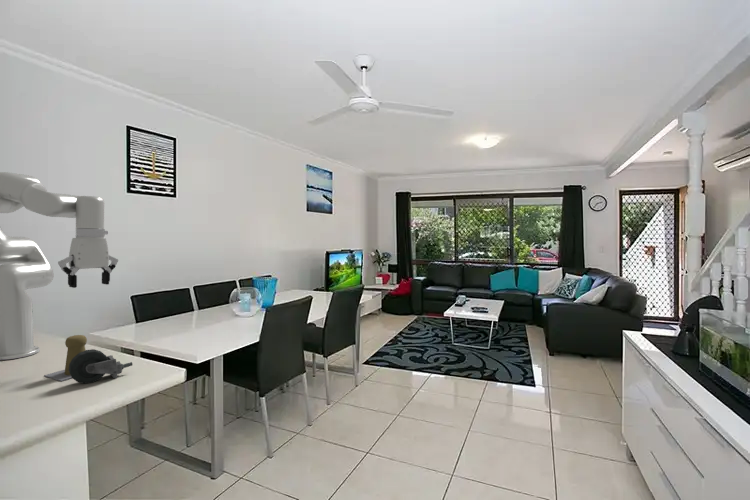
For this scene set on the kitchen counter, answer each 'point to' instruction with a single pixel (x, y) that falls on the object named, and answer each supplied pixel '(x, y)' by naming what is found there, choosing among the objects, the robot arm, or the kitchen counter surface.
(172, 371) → the kitchen counter surface
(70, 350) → the cork
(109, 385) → the kitchen counter surface
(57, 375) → the mat
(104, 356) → the caster wheel
